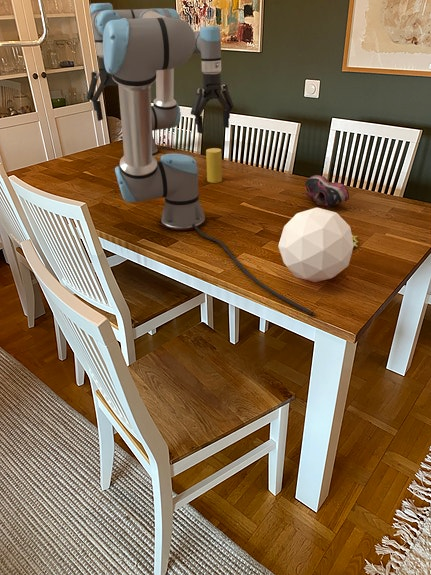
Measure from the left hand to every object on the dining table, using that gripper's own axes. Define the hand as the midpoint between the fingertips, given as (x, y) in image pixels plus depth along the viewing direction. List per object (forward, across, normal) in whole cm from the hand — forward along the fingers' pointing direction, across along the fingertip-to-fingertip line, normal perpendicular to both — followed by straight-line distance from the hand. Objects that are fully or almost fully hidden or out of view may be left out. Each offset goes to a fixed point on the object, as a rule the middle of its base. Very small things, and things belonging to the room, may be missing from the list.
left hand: (213, 130), depth 181 cm
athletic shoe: (+21, +14, -47) cm, 54 cm away
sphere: (+22, -30, -81) cm, 89 cm away
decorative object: (+22, -9, -69) cm, 73 cm away
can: (+21, 0, 0) cm, 21 cm away
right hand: (-8, -38, +10) cm, 40 cm away
